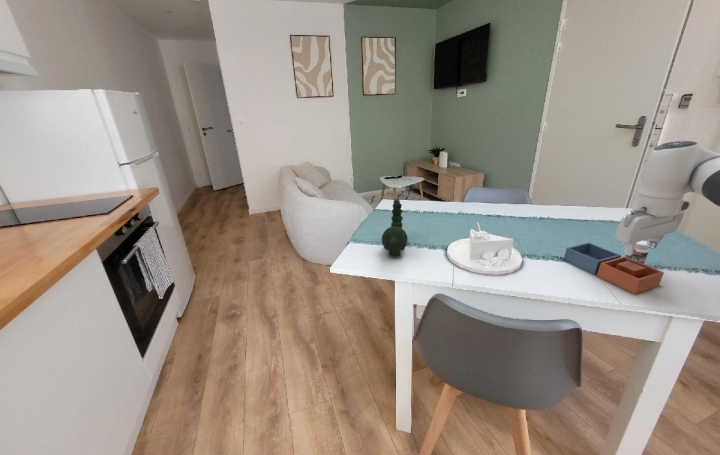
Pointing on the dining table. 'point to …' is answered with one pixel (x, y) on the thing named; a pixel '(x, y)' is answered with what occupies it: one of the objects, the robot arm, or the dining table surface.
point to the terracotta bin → (630, 276)
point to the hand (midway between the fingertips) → (640, 250)
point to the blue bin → (589, 256)
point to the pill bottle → (640, 252)
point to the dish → (485, 253)
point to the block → (631, 269)
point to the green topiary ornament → (395, 232)
